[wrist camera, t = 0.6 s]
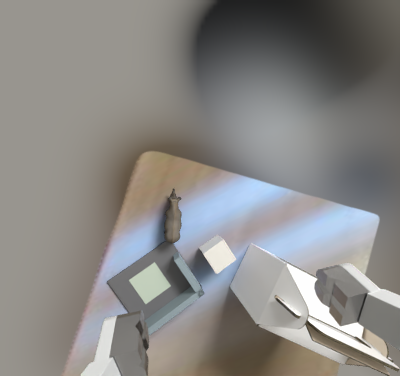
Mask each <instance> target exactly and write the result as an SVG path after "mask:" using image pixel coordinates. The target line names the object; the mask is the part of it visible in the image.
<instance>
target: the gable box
mask: <svg viewBox="0 0 400 376" xmlns="http://www.w3.org/2000/svg"><path fill="white" fill-rule="evenodd" d="M317 279H318V278H317V277H316V276H314V275H312V274H310V273H308V272H306V271H304V270H303V269H301V268H299V267H297V266H295V265H293V264H291V263H289V262H287V261H285V260H283V259H281V258H279V257H277V256H276V255H274V254H272V253H270V252H268V251H266V250H264V249H262V248H260V247H258V246H256V245H254V244H252V243H250V245H249V248H248V250H247V252H246V254H245V256H244V258H243V260H242V262H241V264H240V266H239V268H238V270H237V272H236V274H235V276H234V279H233V281H232V283H231V285H230V288H231V289H232V291H233V292H234V294H235V295H236V296H237V298H238V299H239V301H240V302H241V303H242V305H243V306H244V308H245V309H246V311H247V312H248V313H249V315H250V316H251V318H252V319H253V320H254V322H255V323H256V325H257V326H259V327H261V328H263V329H265V330H268V331H270V332H272V333H274V334H276V335H279V336H281V337H283V338H285V339H287V340H290V341H292V342H294V343H296V344H299V345H301V346H303V347H305V348H307V349H310V350H312V351H314V352H316V353H318V354H321V355H323V356H325V357H327V358H329V359H332V360H334V361H336V362H338V363H340V364H343V365H344V364H347V365H357V366H368V367H370V368H372V369H375V370H377V371H379V372H381V373H383V374H385V375H387V376H390V374H389V373H388V371H387V370H386V368H385V367H384V365H385V366H387V367H389V368H391V369H393V370H395V371H399V368H398V367H397V366H396V365H395V364H393V360H392V359H390V358H389V357H388V353H389V351H388V347H387V344H386V342H385V341H384V340H383V339H381V338H380V337H378V336H376V335H375V334H373V333H372V332H370V331H369V330H367V329H366V328H364V327H363V326H361V325H360V324H358V323H353V324H349V325H345V326H339V324H338V323H337V322H336V321H335V319H334V318H333V317H332V316H331V314H330V313H329V307H327V306H325V305H324V304H322V303H321V302H320V300H319V299H318V297H317V295H316V293H315V289H314V284H315V282H316V280H317ZM362 338H364V339H365V340H363V339H362Z"/></svg>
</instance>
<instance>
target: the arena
mask: <svg viewBox="0 0 400 376" xmlns="http://www.w3.org/2000/svg"><path fill="white" fill-rule="evenodd" d="M107 282H108V284H109V285H110V286H111V288H112V289H113V291H114V292H115V293H116V295H117V296H118V298H119V299H120V300H121V302H122V303H123V305H124V306H125V307H126V309H127V310H128V312H129V313H132V312H137V311H143V313H144V321H145V322H146V323H147V326H148V332H149V335H151V334H152V333H153V332H155V331H156V330H157V329H159V328H160V327H161V326H162V325H164V324H165V323H166V322H168V321H169V320H170V319H172V318H173V317H174V316H176V315H177V314H178V313H180V312H181V311H182V310H184V309H185V308H186V307H188V306H189V305H190V304H192V303H193V302H194V301H196V300H197V299H198V298H200V297H201V296H202V295H204V292H203V289H202V287H201V285H200V283H199V282H198V280H197V279H196V277H195V276H194V274H193V273H192V271H191V270H190V268H189V267H188V265H187V264H186V262H185V261H184V259H183V258H182V256H181V255H180V254H179V252H178V251H177V249H176V248H175V246H174V245H173V243H171V242H168V241H165V242H164V243H162V244H161V245H159V246H158V247H157V248H155V249H154V250H152V251H151V252H149V253H148V254H146V255H145V256H143V257H142V258H141V259H139V260H138V261H136V262H135V263H133V264H132V265H130V266H129V267H127V268H126V269H125V270H123V271H122V272H120V273H119V274H117V275H116V276H114V277H113V278H111V279H110V280H109V281H107Z"/></svg>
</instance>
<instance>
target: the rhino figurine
mask: <svg viewBox="0 0 400 376" xmlns="http://www.w3.org/2000/svg"><path fill="white" fill-rule="evenodd" d="M168 199H169V200H170V207H169V210H167V211H166V213H165V215H166V220H165V224H164V227H165V232H164V233H165V235H164V237H165V240H166V241H168V242H171V243H175V242H177V241H178V240H179V239H180V233H179V231H180V229H181V211H180V210H179V208H178V201H179V200H181V197H178V199H177V197H176V194H175V190H174V188H173V191H172V194H171V195H170V197H169V198H168Z"/></svg>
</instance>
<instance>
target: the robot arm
mask: <svg viewBox="0 0 400 376" xmlns="http://www.w3.org/2000/svg"><path fill="white" fill-rule="evenodd" d="M316 276H317V278H318V279H317V280H316V282H315V284H314V289H315V293H316V295H317V297H318V299H319V300H320V302H321V303H322V304H324V305H325V306H327V307H329V313H330V314H331V316H332V317H333V318H334V319H335V321H336V322H337V323H338V324H339V326H345V325H349V324H353V323H358V324H360V325H361V326H363V327H364V328H366V329H367V330H369V331H370V332H372V333H373V334H375V335H376V336H378V337H380V338H381V339H383V340H384V341H386V342H387V343H389V344H390V345H392V346H393V347H395V348H396V349H398V350H399V351H400V296H399V295H397V294H394V293H392V292H390V291H387V290H385V289H382V290H381V289H380V288H378V287H377V286H376V285H375V284H374V283H373V282H372V281H370V280H369V279H368V278H367V277H366V276H365V275H364V274H362V273H361V272H360V271H359V270H358V269H357V268H356V267H354V266H353V265H352V264H350V263H344V264H340V265H335V266H331V267H327V268H322V269H318V271H317V272H316ZM148 348H149V332H148V326H147V323H146V322H145V321H144V313H143V311H137V312H132V313H127V314H122V315H117V316H112V317H108V318H105V320H104V321H103V324H102V328H101V333H100V337H99V341H98V345H97V349H96V353H95V358H94V362H91V363H89V364H88V366H87V367H86V368H85V370H84V371H83V372H82V374H81V375H80V376H148V356H147V353H146V351H147V349H148Z"/></svg>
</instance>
